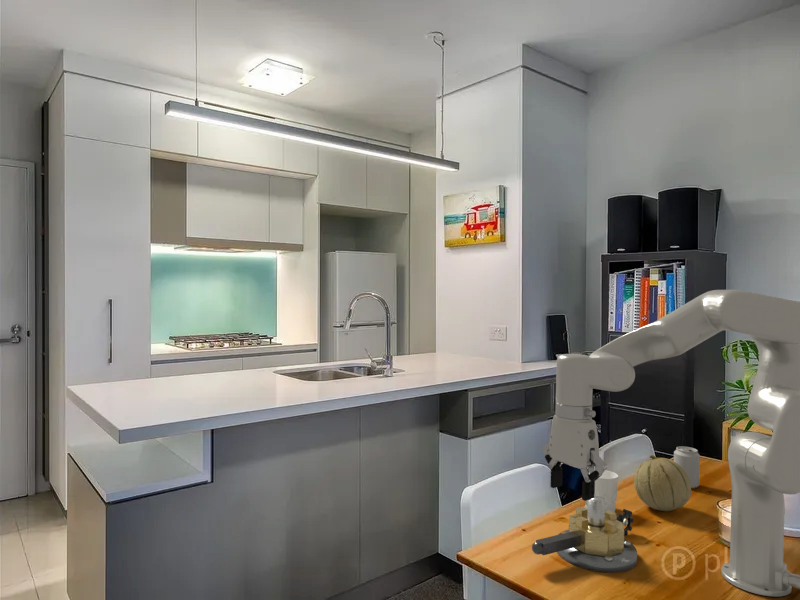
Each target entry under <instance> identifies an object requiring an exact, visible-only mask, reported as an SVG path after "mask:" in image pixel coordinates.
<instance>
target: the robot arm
mask: <svg viewBox="0 0 800 600" xmlns="http://www.w3.org/2000/svg"><path fill="white" fill-rule="evenodd" d="M722 331H726V332H727V331H728V332H733V333H734V332H735V333H739V334H744V335H748V336H750V338H751V339H752V341H753V342H754V344H755V346H756V348H757V351H758V364H757V369H756V373H755V378H754V381H753V384H752V388H751V392H750V396H749V399H748V403H747V415H748V418H749V419H750V420H751V421H752V422H753V423H755V424H756V425H758V426H760V427H761V428H764V429H767V430H769V431H772V434H771V436H770V435H766V434H764V433H761V432H757V431H756V432H755V431H745V432H742V433H740V434H737V435H736V436H735V437H734V438H732V440H731V441H730V443H729V446H728V449H727V450H728V451H727V460H728V467H729V468H728V469H729V473H730V483H731V503H730V507H731V508H730V538H729V539H730V540H729V541H730V545H729V547H730V548H729V562H727V563H724V564H723V565H722V566H721V576H722V577H723V578H724V579H725V580H726V581H727V582H728V583H729V584H731V585H733V586H734V587H737V588H739V589H741V590H743V591H746V592H749V593H752V594H754V595H755V594H756V595H759V596H765V597H766V596H767V597H774V598H775V597H785V596H788V595H789V594H791V593H792V588H793V587H794V588H796V589H798V590H800V574H796V573H792V572H790V570H788V569H787V567H788V564H787V563H785V562H784V541H785V539H784V538H785V537H784V536H785V530H784V529H785V511H786V506H785V497H784V495H797V494H799V493H800V301H796V300H793V299H792V300H791V299H786V298H782V297H781V298H780V297H778V296H777V297H776V296H771V295H767V294H766V295H765V294H761V293H757V292H752V291H748V290H747V291H746V290H743V289H742V290H741V289H714V290H708V291H706V292H704V293H702V294H700V295H698V296H697V297H694V298H693V299H692V300H690V301H688V302H686V303H685V304H683V305H682V306H680V307H678V308H676V309H674V310H673V311H671V312H669V313H667V314H666V315H664V316H662V317H661V318H659V319H657V320H655V321H653V322H651V323H648V324H646V325H643V326H642V327H639V328H636V329H634V330H633V331H630V332H628V333H627V332H626V334H624V335H621V336H619V337H617V338H615V339H613V340H611V341H609V342H608V343H607V344H604V345H602V346H601V347H599V348H598V349H596V350H595V351H593V352H592V353H590V354H589V355H587V354H579V353H563V354H560V355H558V357H557V359H556V370H555V371H556V374H555V377H556V379H555V381H556V384H555V414H554V415H553V418H552V421H551V427H550V436H549V441H548V442H547V443H545V444H544V445H542V446H541V451H542V452H543V455H544V458H545V459H544V460H545V461H546V462H547V464H548V465H547V466H548V467H547V468H548V469H549V470H550V488H552V489H555V488H560V487H562V486H563V481H564V480H563V478H564V477H563V476H564V475H563V473H564V472H563V467H562V465H563V464H564V465H568V466H570V467H573V468H577V469H580V472H581V475H582V476H583V479H584V480H583V481H582V483H581V499H582V501H584V502H586V501H587V500H590V499H593V498H594V494H595V481H596V480H598V478H599V477H600V476H601V475H602V473H603V472H604V471H605V470H606V471H607V468H608V464H606V463H605V461H604V460H603V459H602V458H601V456H600V449H599V447H600V446H599V445H600V444H599V434H598V429H597V424H596V421H595V420H594V419H593V418H595V417H596V415H597V414H596V413H597V412H596V411H595V410H593V392H594V390H593V389H595V390H601V391H607V392H614V393H615V392H617V393H618V392H622V391H625V390H627V389H629V388H630V387H631V386H632V385H633V383H634V382H635V379H636V372H635V371H636V370H635V368H634V367H636V366H638V365H641V364H644V363H646V362H650V361H653V360H654V361H655V360H663V359H670V358H674V357H677V356H680V355H681V356H682V354H684V353H686V352H687V351H689V350H691V349H693V348H694V347H697V346H698V345H700V344H701V343H703V342H704V341H707V340H708V339H710V338H712V337H714V336H715V335H717V334H718V333H721V332H722ZM594 467H595V468H594ZM589 473H590V474H589Z"/></svg>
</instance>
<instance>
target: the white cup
mask: <svg viewBox="0 0 800 600" xmlns="http://www.w3.org/2000/svg"><path fill="white" fill-rule="evenodd" d="M588 473H589V472H588ZM589 474H590V473H589ZM618 487H619V474H618V473H616V472H614V471H610V470H607V469H606V470H605V471H604V472H603V473H602V475H601V476H600V477H599V478H598V480H596V481H595V494H594V495H597V496H601V497H603V498H605V509H606V510H607V511H609V510H610V511H612V512H615V513H616V506H617V497H618V489H619V488H618Z"/></svg>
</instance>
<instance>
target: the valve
mask: <svg viewBox="0 0 800 600" xmlns="http://www.w3.org/2000/svg"><path fill="white" fill-rule="evenodd" d="M583 507H584V508H586V509H588V500H587V501H585V504H584V506H583ZM605 511H607V510H606V509H605ZM622 512H623V514H622V513H619V514H618V515H616V520H618V521H620V522H622V523H623V527H625V528H624V537H627V536H628V535H629V533H628V531H629V532H632V529H633V527H632V526H631V525H632V524H633V523H634V521H635V519H634V518H633V517H632V515H633V511H631V510H628V509H626V508H623V509H622Z"/></svg>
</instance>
